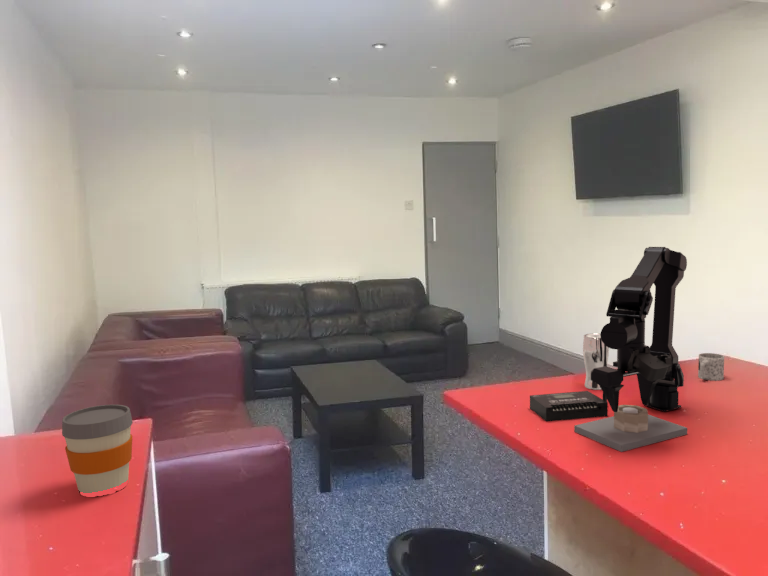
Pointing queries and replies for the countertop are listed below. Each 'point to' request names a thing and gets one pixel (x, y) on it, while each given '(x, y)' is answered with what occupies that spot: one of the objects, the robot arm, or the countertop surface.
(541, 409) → the wireless controller
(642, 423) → the ring
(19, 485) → the countertop surface
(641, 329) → the robot arm
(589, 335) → the beer glass
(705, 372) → the mug
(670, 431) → the post board
